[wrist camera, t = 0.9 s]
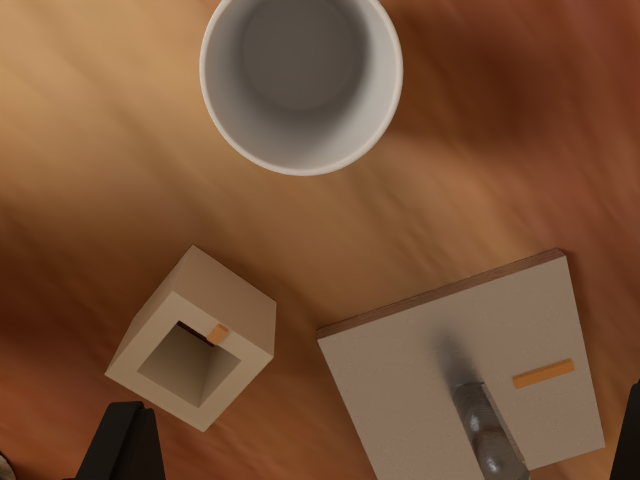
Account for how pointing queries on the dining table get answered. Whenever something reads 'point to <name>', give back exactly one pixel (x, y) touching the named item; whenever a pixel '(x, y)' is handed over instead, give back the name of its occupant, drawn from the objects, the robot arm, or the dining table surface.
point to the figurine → (5, 470)
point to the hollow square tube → (197, 341)
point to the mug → (301, 80)
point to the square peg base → (470, 376)
